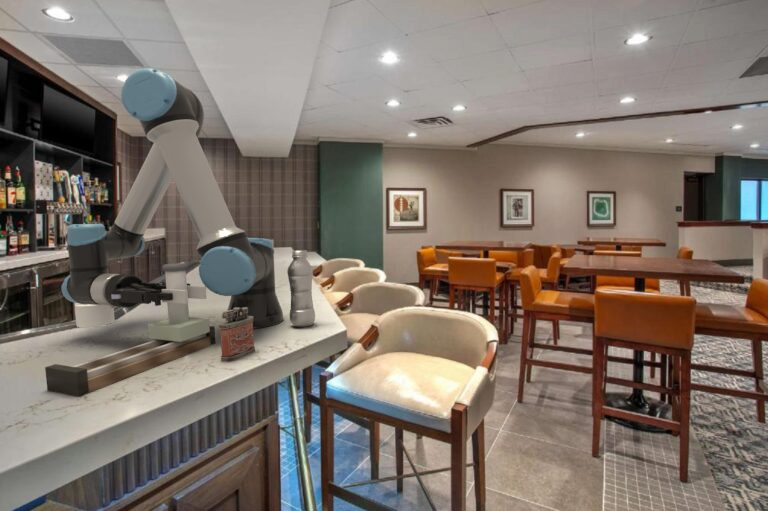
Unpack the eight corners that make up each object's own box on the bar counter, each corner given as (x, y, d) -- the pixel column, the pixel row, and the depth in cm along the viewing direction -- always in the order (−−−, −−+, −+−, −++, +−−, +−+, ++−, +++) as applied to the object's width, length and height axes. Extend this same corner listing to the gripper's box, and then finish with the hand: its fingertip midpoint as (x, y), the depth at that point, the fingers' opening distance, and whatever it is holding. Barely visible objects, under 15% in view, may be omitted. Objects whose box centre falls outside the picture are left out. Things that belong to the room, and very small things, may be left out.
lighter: (247, 349, 90) (245, 303, 89) (258, 350, 88) (256, 305, 87) (217, 360, 83) (214, 311, 82) (229, 362, 81) (226, 313, 80)
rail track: (189, 340, 97) (188, 323, 97) (215, 343, 95) (214, 326, 94) (47, 390, 70) (45, 367, 69) (78, 396, 67) (76, 372, 66)
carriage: (179, 328, 95) (174, 262, 94) (209, 331, 92) (205, 262, 91) (148, 338, 88) (143, 266, 87) (180, 341, 85) (175, 266, 83)
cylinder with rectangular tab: (74, 329, 111) (70, 285, 110) (78, 322, 119) (74, 281, 118) (113, 324, 116) (110, 282, 114) (115, 318, 123) (112, 278, 122)
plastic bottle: (310, 329, 105) (307, 251, 103) (285, 328, 106) (281, 251, 104) (319, 323, 111) (316, 249, 109) (295, 322, 112) (292, 249, 110)
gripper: (153, 299, 104) (226, 304, 96) (81, 314, 88) (162, 321, 80) (150, 269, 104) (224, 272, 95) (78, 279, 87) (159, 283, 79)
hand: (195, 294), depth 87 cm, fingers open, 4 cm apart
